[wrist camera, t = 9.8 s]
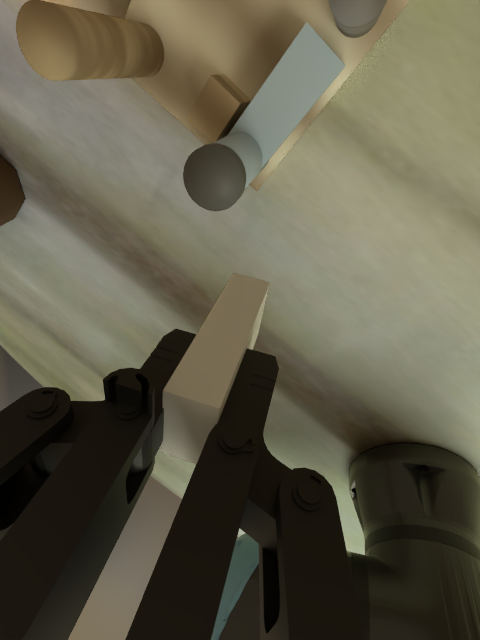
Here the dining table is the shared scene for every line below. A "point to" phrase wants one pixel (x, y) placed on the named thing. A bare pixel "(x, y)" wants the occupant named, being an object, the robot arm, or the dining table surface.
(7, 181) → the beer bottle
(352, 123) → the dining table surface
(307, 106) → the hinged leg
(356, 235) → the dining table surface
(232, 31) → the wooden twin post stand
